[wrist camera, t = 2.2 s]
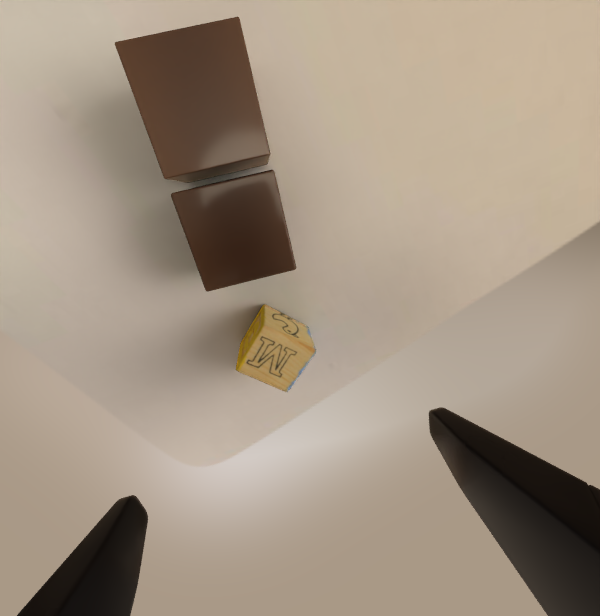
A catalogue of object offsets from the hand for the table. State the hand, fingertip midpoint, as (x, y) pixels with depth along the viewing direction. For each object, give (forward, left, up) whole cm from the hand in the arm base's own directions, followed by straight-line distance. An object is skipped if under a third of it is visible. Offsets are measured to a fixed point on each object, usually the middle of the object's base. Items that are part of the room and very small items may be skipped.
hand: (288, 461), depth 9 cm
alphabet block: (0, 0, -10) cm, 10 cm away
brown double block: (0, +8, -9) cm, 12 cm away
